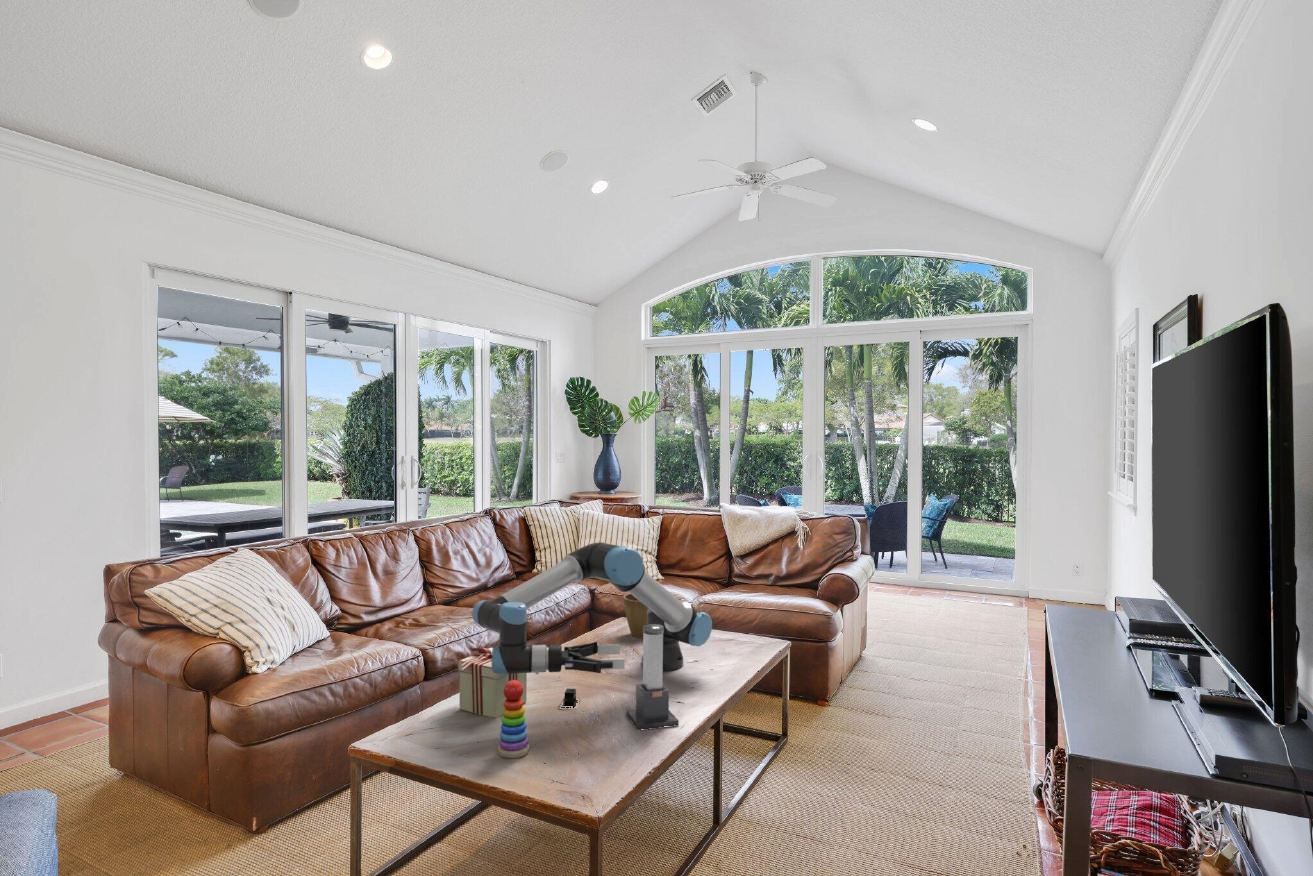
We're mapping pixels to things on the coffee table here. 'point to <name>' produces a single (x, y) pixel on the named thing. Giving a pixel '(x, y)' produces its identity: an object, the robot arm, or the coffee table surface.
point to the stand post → (652, 657)
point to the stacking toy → (513, 723)
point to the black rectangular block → (570, 698)
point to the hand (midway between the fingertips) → (622, 656)
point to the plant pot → (635, 615)
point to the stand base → (651, 709)
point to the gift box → (484, 685)
